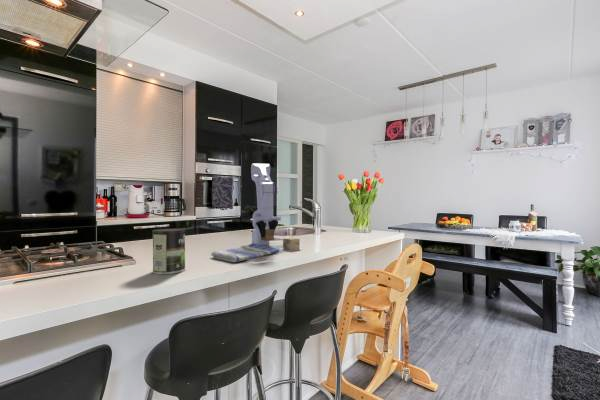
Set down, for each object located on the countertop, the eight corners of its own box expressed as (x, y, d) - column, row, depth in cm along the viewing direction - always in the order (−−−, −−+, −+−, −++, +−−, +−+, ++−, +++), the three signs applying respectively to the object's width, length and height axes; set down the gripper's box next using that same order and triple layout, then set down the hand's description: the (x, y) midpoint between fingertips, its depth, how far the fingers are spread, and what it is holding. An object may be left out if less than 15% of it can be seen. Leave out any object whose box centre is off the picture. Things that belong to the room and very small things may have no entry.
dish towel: (209, 257, 126) (209, 251, 126) (254, 248, 143) (254, 242, 143) (234, 263, 114) (233, 256, 114) (279, 253, 131) (279, 246, 131)
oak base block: (282, 248, 142) (282, 238, 142) (291, 247, 146) (291, 237, 146) (290, 250, 138) (290, 239, 138) (299, 249, 142) (299, 238, 142)
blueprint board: (255, 250, 143) (255, 248, 143) (281, 246, 154) (281, 244, 154) (275, 255, 131) (275, 253, 131) (303, 250, 142) (303, 248, 142)
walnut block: (260, 239, 143) (260, 229, 143) (268, 238, 146) (268, 228, 146) (266, 240, 140) (266, 230, 140) (273, 239, 143) (273, 229, 143)
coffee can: (188, 266, 109) (188, 227, 109) (181, 274, 99) (181, 230, 99) (157, 268, 108) (157, 228, 108) (148, 275, 97) (147, 231, 97)
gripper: (259, 208, 135) (259, 239, 135) (284, 207, 145) (284, 236, 145) (250, 208, 140) (250, 237, 140) (275, 207, 150) (275, 234, 150)
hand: (267, 236), depth 143 cm, fingers closed on walnut block, 4 cm apart
